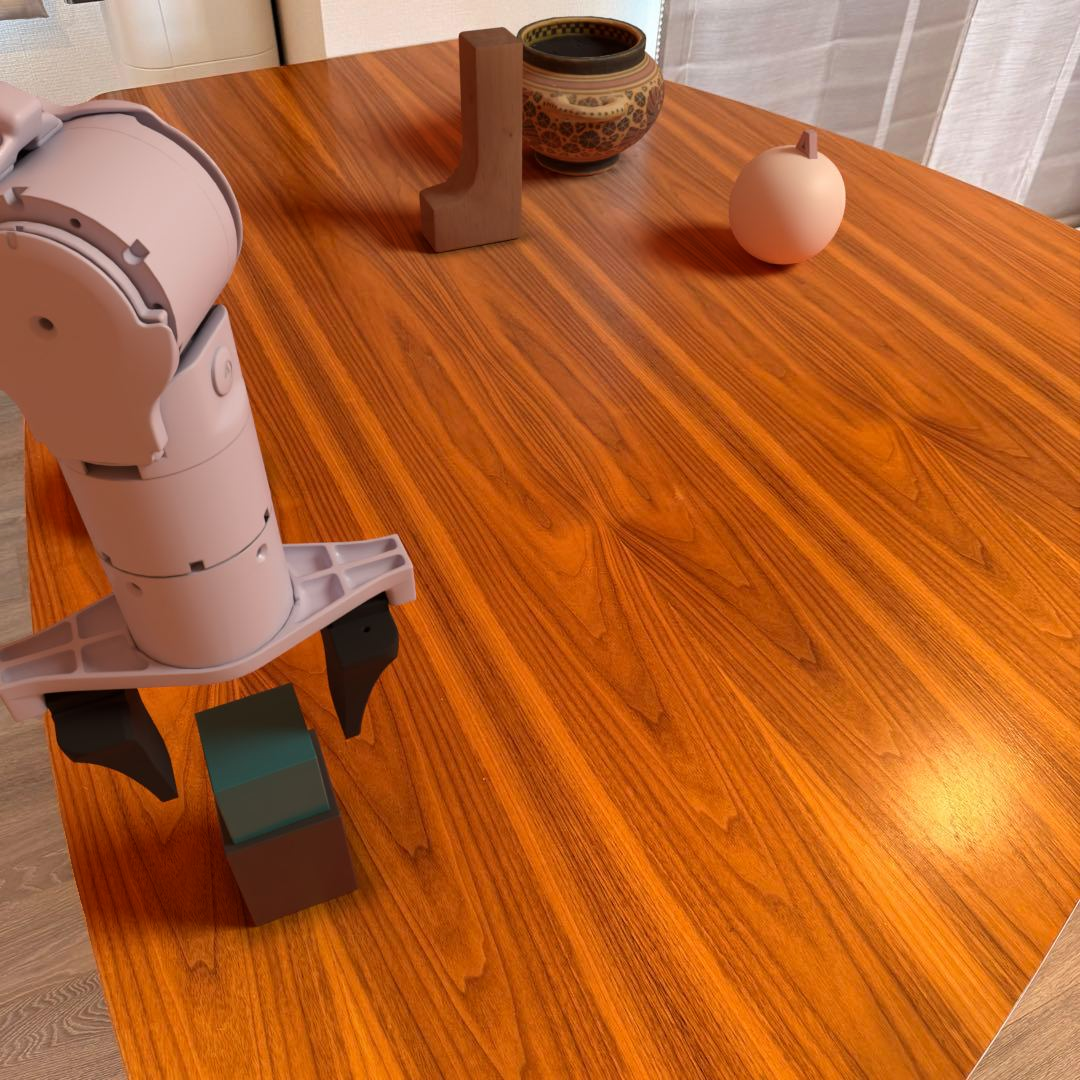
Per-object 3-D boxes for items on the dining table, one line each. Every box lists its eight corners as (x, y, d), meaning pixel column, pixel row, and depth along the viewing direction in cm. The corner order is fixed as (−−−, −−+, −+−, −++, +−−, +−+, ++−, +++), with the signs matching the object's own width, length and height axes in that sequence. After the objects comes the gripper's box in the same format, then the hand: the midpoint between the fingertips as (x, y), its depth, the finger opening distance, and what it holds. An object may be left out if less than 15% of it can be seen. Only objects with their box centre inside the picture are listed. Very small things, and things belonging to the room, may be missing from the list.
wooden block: (435, 254, 92) (423, 53, 80) (420, 233, 95) (406, 36, 83) (522, 238, 95) (524, 41, 82) (505, 218, 98) (505, 25, 85)
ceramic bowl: (517, 138, 119) (484, 7, 109) (661, 102, 116) (640, -35, 106) (518, 234, 102) (478, 89, 91) (687, 194, 99) (665, 41, 89)
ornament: (849, 255, 94) (882, 130, 85) (793, 295, 88) (823, 165, 80) (759, 221, 99) (782, 99, 90) (701, 257, 93) (719, 130, 85)
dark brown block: (255, 927, 46) (225, 855, 41) (237, 837, 49) (206, 760, 44) (359, 889, 47) (341, 816, 42) (334, 804, 51) (314, 727, 46)
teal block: (234, 845, 41) (212, 793, 38) (215, 767, 44) (193, 712, 41) (330, 810, 43) (316, 757, 40) (306, 736, 45) (292, 681, 42)
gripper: (362, 397, 37) (393, 631, 46) (-62, 497, 32) (69, 733, 42) (424, 514, 32) (444, 747, 42) (-60, 650, 28) (87, 875, 37)
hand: (259, 749), depth 41 cm, fingers open, 7 cm apart
